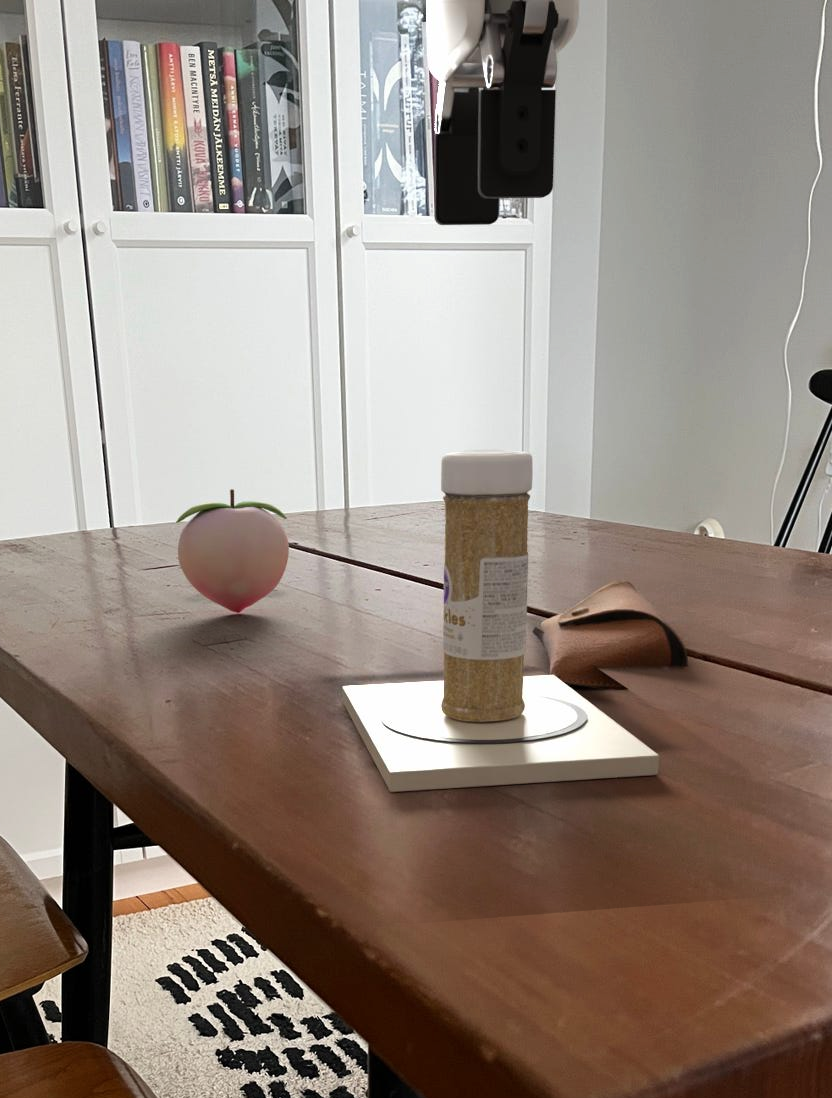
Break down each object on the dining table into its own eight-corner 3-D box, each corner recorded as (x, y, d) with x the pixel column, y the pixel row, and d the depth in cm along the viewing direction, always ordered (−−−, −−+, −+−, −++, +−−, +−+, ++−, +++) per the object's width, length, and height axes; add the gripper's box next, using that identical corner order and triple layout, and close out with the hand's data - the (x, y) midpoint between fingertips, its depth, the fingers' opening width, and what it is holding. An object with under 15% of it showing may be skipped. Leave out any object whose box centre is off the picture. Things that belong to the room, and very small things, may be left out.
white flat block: (553, 690, 77) (554, 672, 77) (658, 775, 60) (660, 752, 60) (342, 702, 76) (341, 684, 75) (390, 792, 59) (389, 769, 58)
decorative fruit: (213, 627, 100) (205, 496, 97) (168, 613, 107) (159, 490, 103) (314, 613, 105) (309, 488, 101) (265, 601, 111) (259, 483, 108)
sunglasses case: (524, 627, 93) (574, 547, 91) (604, 673, 94) (655, 596, 92) (548, 682, 77) (609, 586, 74) (645, 738, 78) (708, 645, 75)
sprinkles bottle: (428, 709, 69) (427, 451, 64) (504, 700, 70) (508, 447, 65) (461, 728, 65) (463, 455, 60) (541, 719, 66) (549, 451, 61)
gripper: (652, -350, 45) (628, 183, 51) (527, -158, 61) (520, 231, 67) (448, -359, 45) (447, 185, 51) (375, -161, 61) (381, 233, 67)
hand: (488, 211), depth 59 cm, fingers open, 9 cm apart
